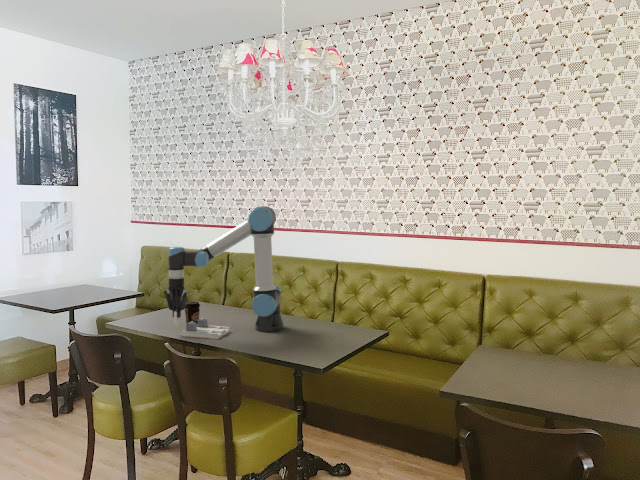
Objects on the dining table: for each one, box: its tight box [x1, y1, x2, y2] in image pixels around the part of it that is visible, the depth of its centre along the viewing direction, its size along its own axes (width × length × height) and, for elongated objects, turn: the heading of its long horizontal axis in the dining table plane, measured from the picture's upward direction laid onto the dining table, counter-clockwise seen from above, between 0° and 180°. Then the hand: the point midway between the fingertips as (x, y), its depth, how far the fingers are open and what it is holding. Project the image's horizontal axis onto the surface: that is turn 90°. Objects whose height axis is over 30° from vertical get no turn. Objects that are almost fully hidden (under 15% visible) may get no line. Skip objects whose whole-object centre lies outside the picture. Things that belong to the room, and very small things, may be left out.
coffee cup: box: [184, 300, 201, 324], centre depth 266 cm, size 9×8×13 cm
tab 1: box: [185, 321, 197, 332], centre depth 250 cm, size 4×3×5 cm
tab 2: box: [197, 317, 208, 328], centre depth 257 cm, size 4×3×5 cm
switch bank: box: [180, 324, 231, 340], centre depth 253 cm, size 20×14×3 cm
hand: (176, 323), depth 252 cm, fingers closed
